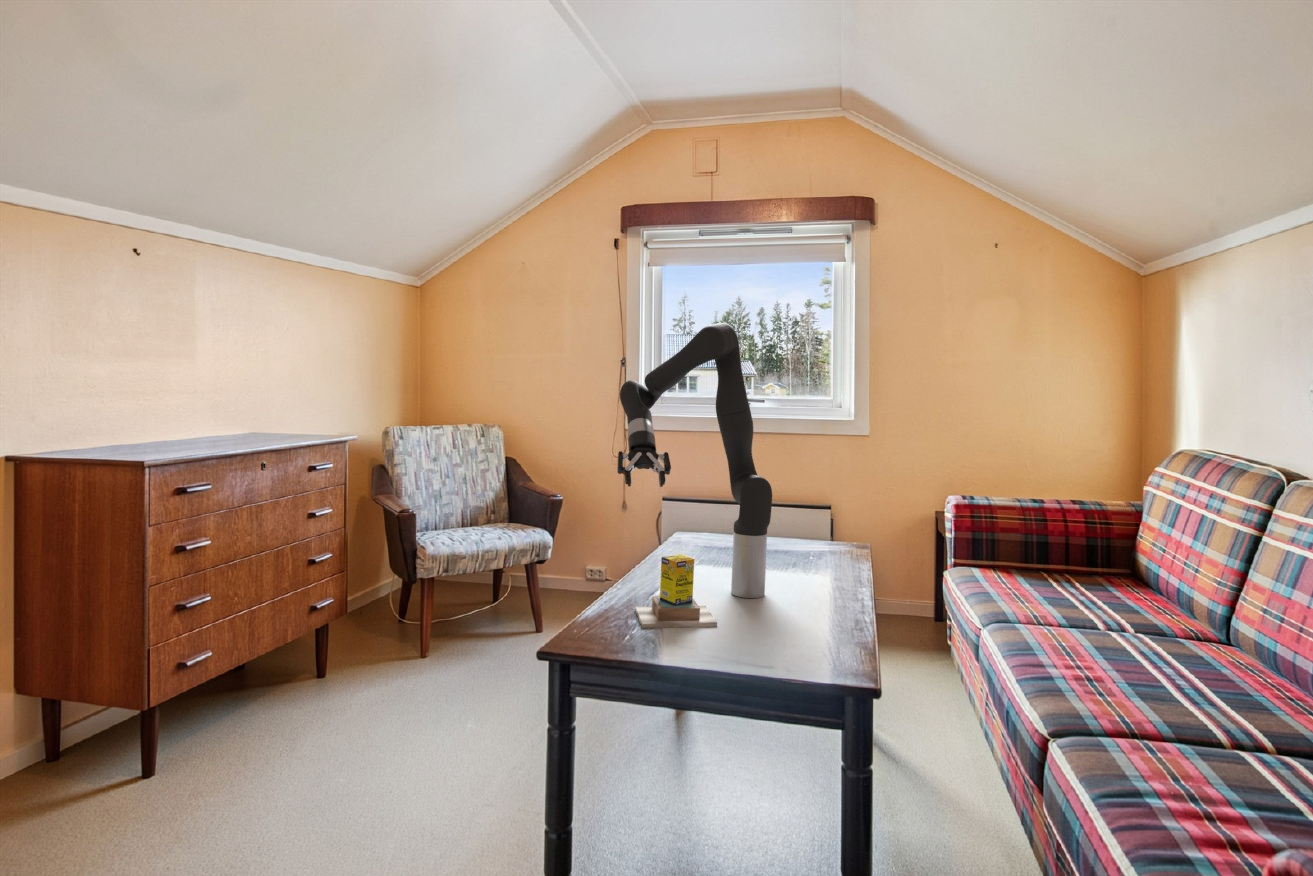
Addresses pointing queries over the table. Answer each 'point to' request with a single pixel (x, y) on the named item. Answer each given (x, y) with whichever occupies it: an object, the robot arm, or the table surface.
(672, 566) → the supplement box
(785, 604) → the table surface
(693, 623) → the board
